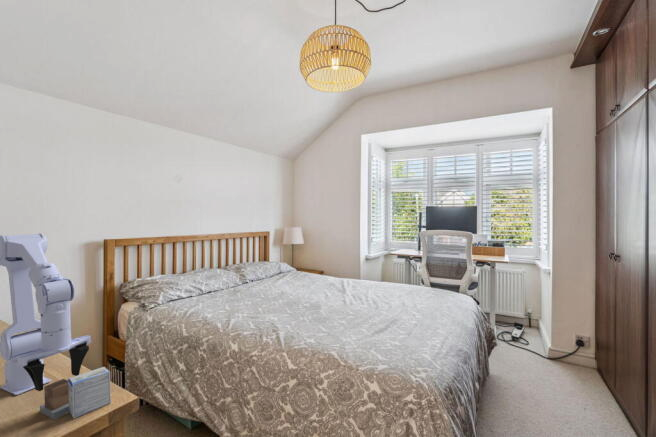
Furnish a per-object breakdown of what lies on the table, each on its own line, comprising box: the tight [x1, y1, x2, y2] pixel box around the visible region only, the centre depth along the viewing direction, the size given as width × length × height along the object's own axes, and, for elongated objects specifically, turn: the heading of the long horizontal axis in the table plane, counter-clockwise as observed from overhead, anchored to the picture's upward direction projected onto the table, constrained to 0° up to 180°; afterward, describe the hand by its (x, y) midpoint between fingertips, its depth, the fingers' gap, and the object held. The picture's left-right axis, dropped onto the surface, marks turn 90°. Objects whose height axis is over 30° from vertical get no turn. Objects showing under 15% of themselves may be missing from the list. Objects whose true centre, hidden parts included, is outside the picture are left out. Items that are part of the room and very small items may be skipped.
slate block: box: [39, 403, 70, 420], centre depth 80 cm, size 7×5×2 cm
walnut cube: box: [43, 378, 69, 410], centre depth 80 cm, size 4×4×5 cm
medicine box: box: [67, 366, 112, 419], centre depth 81 cm, size 8×4×9 cm, turn 141°
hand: (58, 381), depth 80 cm, fingers open, 7 cm apart
